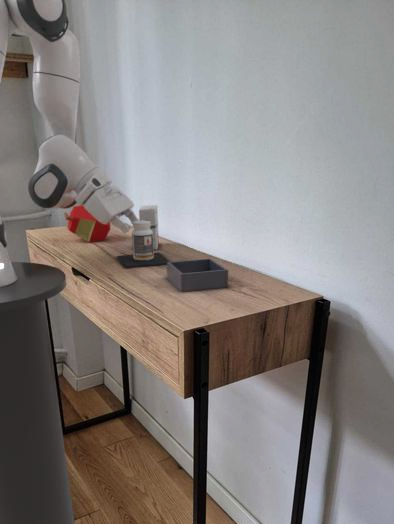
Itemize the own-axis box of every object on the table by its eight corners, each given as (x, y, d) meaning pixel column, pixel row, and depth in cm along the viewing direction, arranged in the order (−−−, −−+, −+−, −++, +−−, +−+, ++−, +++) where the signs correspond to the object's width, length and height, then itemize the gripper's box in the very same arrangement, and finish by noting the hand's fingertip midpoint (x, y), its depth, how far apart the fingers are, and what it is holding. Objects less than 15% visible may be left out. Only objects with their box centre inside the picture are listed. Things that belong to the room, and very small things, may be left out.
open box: (181, 291, 107) (181, 274, 105) (167, 278, 117) (166, 262, 115) (227, 287, 110) (228, 270, 109) (210, 274, 120) (210, 258, 118)
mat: (126, 268, 125) (126, 266, 125) (117, 257, 135) (117, 255, 135) (170, 264, 129) (170, 262, 128) (158, 254, 139) (158, 252, 139)
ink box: (143, 243, 151) (141, 204, 146) (159, 243, 151) (157, 204, 146) (140, 249, 143) (138, 208, 139) (157, 250, 143) (155, 209, 139)
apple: (110, 249, 153) (63, 236, 146) (102, 243, 164) (57, 231, 157) (120, 211, 151) (72, 196, 144) (111, 208, 161) (66, 194, 154)
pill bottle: (158, 258, 132) (157, 221, 128) (141, 262, 128) (139, 224, 124) (145, 255, 135) (143, 219, 131) (128, 258, 132) (126, 221, 128)
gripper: (101, 192, 136) (136, 228, 139) (72, 201, 118) (113, 243, 121) (115, 175, 134) (150, 213, 136) (88, 183, 115) (129, 226, 118)
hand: (133, 227), depth 128 cm, fingers open, 8 cm apart
